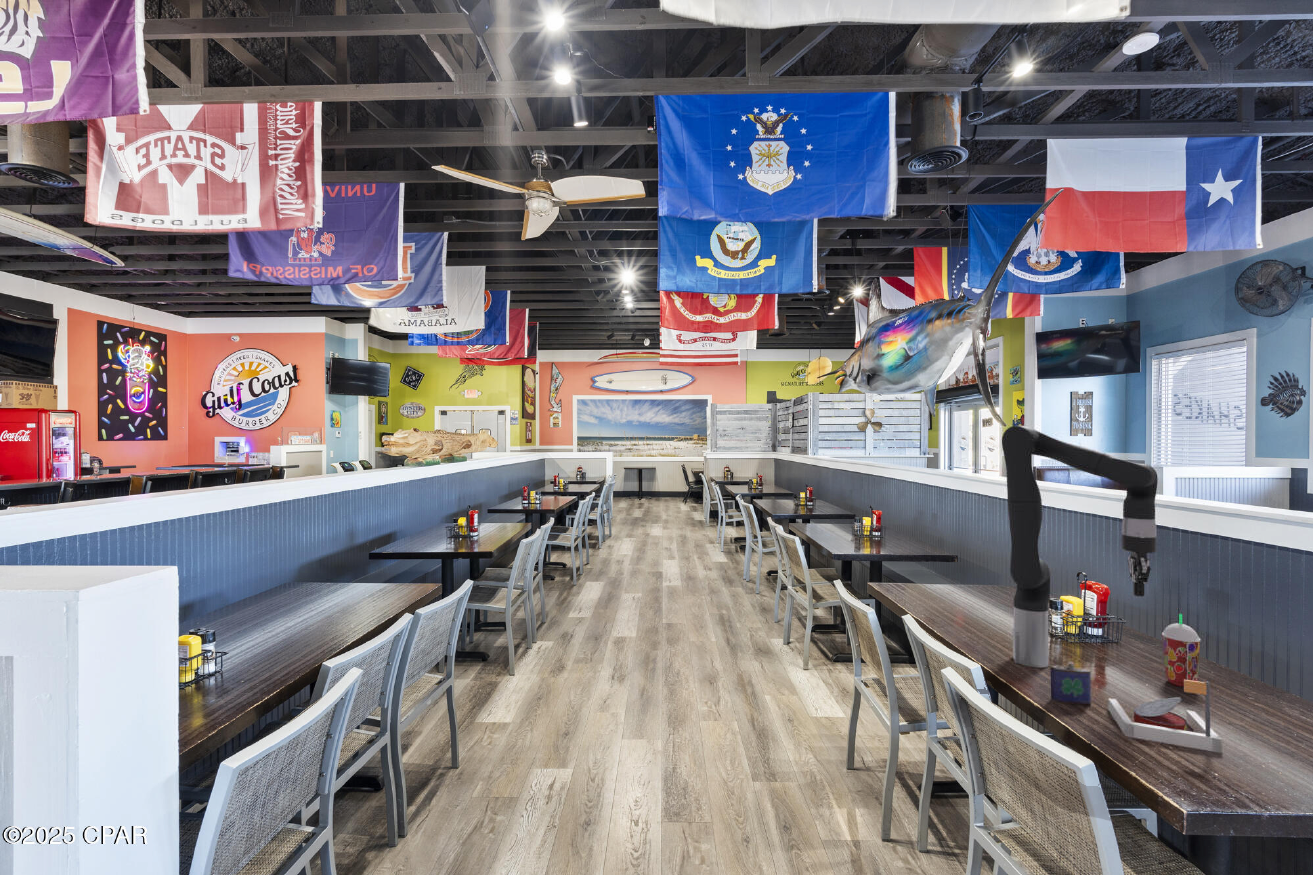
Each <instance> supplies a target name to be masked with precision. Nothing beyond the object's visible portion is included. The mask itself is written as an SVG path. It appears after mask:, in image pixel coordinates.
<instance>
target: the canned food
mask: <svg viewBox="0 0 1313 875" xmlns="http://www.w3.org/2000/svg"><path fill="white" fill-rule="evenodd" d="M1181 702H1182V698H1181V697H1180V696H1178V697H1177V696H1174V697H1167V698H1164V699H1161V698H1160V699H1157V700H1153V701H1148V702H1145V703H1141V704H1140V705H1138V706H1136V707H1135V708H1133V722H1135V723H1141V724H1147V725H1153V726H1159V727H1166V728H1172V729H1178V730H1184V731H1188V724H1187V721H1186V718H1184V717H1182V715H1179V714H1176V713H1173V712H1172V711H1173V710H1174V709H1175V708H1176V707H1177V705H1178V704H1179V703H1181Z"/></svg>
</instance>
